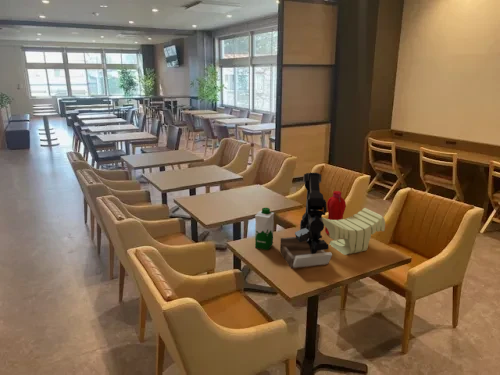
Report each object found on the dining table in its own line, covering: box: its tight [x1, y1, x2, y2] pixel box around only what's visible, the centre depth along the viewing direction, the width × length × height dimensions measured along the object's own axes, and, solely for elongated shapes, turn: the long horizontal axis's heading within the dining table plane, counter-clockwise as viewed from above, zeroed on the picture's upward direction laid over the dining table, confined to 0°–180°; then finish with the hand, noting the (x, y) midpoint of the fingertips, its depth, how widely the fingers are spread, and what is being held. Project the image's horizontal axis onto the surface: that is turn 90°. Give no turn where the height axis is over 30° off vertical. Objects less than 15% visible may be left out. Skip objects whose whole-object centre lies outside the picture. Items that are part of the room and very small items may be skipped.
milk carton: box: [254, 207, 275, 251], centre depth 194 cm, size 9×9×20 cm
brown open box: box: [279, 236, 329, 269], centre depth 183 cm, size 17×18×8 cm
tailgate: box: [293, 251, 333, 269], centre depth 173 cm, size 2×17×7 cm, turn 104°
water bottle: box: [324, 190, 347, 237], centre depth 209 cm, size 9×11×25 cm
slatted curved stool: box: [322, 207, 386, 256], centre depth 193 cm, size 30×16×18 cm, turn 113°
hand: (312, 255), depth 172 cm, fingers closed, pressing on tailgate
